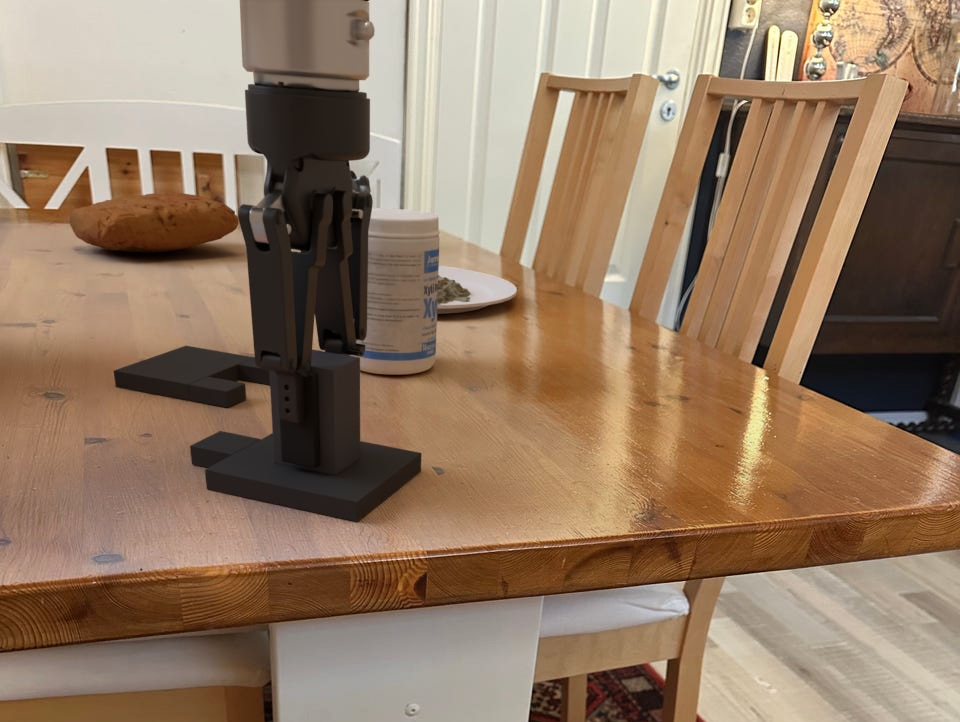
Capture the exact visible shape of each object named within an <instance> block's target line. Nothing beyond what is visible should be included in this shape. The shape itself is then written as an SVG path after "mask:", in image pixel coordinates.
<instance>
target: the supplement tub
mask: <svg viewBox="0 0 960 722" xmlns="http://www.w3.org/2000/svg"><path fill="white" fill-rule="evenodd" d="M439 266H440V230H439V216H438V215H437V214H434V213H431V212H427V211H420V210H412V209H404V208H403V209H401V208H386V207H372V211H371V218H370V224H369V230H368V291H367V335H366V338H365V340H364V341H360V340H357V341H356V343H358V344H364V345H365V352H364V355H363V356H362V357H360V356H354V355H350V356H354V357H360V372H365V373H369V374H375V375H386V376H387V375H390V376H398V375H399V376H400V375H413V374H418V373H422V372H426V371H428V370H429V369H431V368H432V367H433V366H434V364H435V362H436V359H437V358H436V357H437V356H436V355H437V329H438V328H437V327H438V314H437V301H438V271H439Z"/></svg>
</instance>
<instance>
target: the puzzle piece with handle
mask: <svg viewBox="0 0 960 722" xmlns="http://www.w3.org/2000/svg"><path fill="white" fill-rule="evenodd" d="M269 372H270V385H269V387H270V388H269V389H270V409H271V410H270V411H271V428H272V433H270V434H268V435H266V436H264V437H263V438H258V437H253V436H248V435H243V434H238V433H234V432H233V433H232V432H227V431H223V430H219V431H217V432H215V433H212V434H211V435H209V436H207V437H205V438H202V439H201V440H199V441H197V442H195V443H192V444H191V445H190V446H189V449H190V450H189V451H190V459H191V465H193V466H197V467H201V468H205V469H204V474H205V476H204V477H205V484H206V489H207V490H209V491H215V492H219V493H223V494H228V495H233V496H237V497H242V498H246V499H251V500H256V501H260V502H265V503H269V504H274V505H279V506H282V507H288V508H292V509H296V510H300V511H305V512H310V513H315V514H319V515H324V516H328V517H333V518H338V519H341V520H346V521H352V522H356V523H358V522H359V521H360V520H361V519H363V518H364V517H366V515H368V514H369V513H371V512H372V511H373V510H374V509H376V508H377V507H378V506H379V505H381V503H383V502H384V501H385V500H386V499H388V498H389V497H390V496H392V495H393V494H394V493H395V492H397V491H398V490H399V489H400V488H402V487H403V486H404V485H405V484H407V483H408V482H409V481H410V480H412V479H413V478H414V477H415V476H417V475H418V474H419V473H420V472H421V471H422V455H423V454H422V452H419V451H414V450H410V449H404V448H399V447H393V446H388V445H383V444H378V443H372V442H367V441H363V440H361V370H360V357H354V356H348V355H342V354H336V353H330V352H325V351H324V350H317V349H312V358H311V370H310V372H312V373H318V385H319V425H320V465H319V466H318V467H316V468H312V467H308V466H303V465H298V464H293V463H288V462H283V461H282V455H281V434H280V416H279V403H278V400H279V399H278V382H277V375H276V373H275V372H274V371H269Z"/></svg>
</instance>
